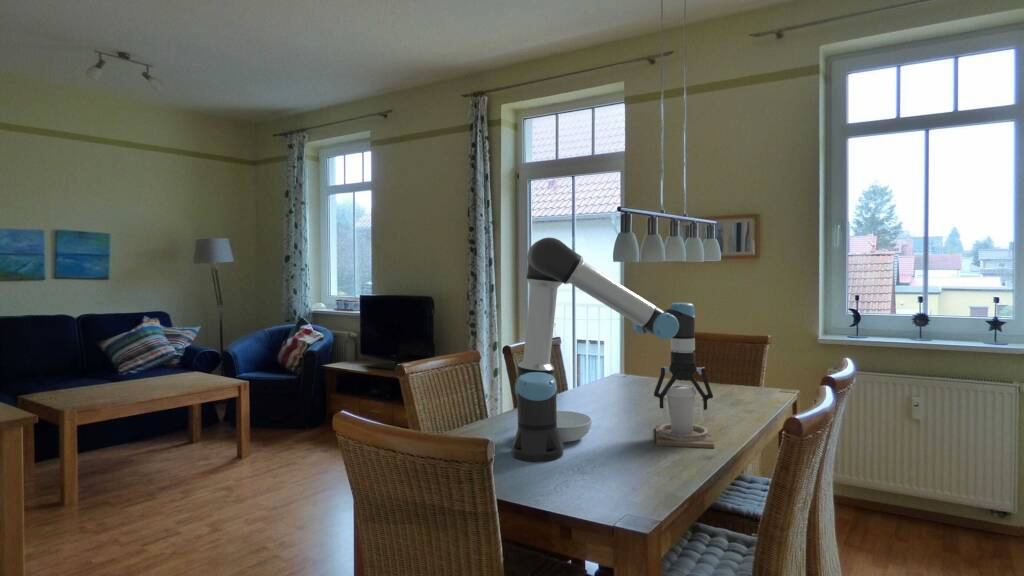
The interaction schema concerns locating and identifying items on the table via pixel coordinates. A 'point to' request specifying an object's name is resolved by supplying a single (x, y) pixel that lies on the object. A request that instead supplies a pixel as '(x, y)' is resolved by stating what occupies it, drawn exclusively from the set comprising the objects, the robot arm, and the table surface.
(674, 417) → the coffee cup
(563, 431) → the serving bowl
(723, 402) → the table surface
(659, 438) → the carrier board
